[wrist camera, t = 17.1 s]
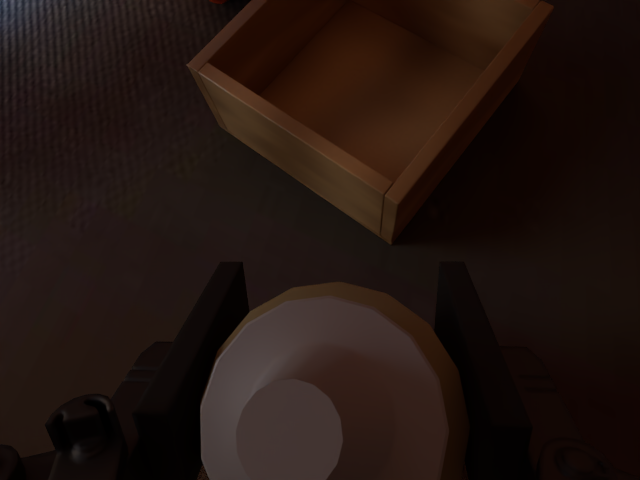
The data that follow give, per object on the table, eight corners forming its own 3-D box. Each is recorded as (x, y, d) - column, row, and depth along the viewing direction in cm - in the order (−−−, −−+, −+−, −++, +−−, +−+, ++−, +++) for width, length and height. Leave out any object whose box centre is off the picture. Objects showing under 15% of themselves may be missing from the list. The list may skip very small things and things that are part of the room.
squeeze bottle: (312, 294, 24) (182, 40, 7) (459, 366, 22) (786, 266, 5) (235, 442, 22) (-229, 610, 5) (389, 536, 20) (537, 1363, 3)
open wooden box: (219, 126, 29) (186, 64, 24) (346, -9, 32) (343, -92, 26) (391, 245, 26) (398, 204, 20) (518, 80, 28) (555, 5, 23)
